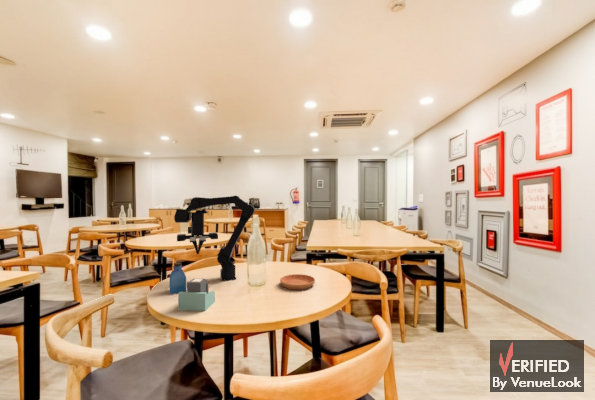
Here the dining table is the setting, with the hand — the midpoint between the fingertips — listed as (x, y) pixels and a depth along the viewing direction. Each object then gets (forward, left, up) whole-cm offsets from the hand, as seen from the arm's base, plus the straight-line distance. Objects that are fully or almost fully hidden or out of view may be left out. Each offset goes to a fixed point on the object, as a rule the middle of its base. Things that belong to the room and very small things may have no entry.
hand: (197, 254), depth 128 cm
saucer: (-41, +29, -13) cm, 52 cm away
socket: (+2, +34, -13) cm, 36 cm away
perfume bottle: (+9, +14, -13) cm, 21 cm away
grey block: (+2, +34, -12) cm, 37 cm away
